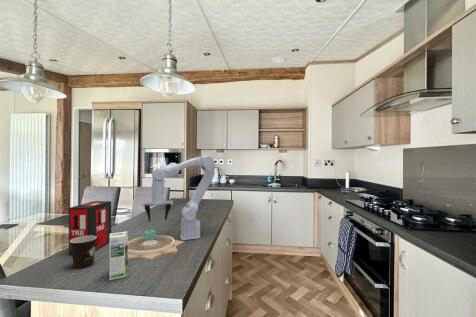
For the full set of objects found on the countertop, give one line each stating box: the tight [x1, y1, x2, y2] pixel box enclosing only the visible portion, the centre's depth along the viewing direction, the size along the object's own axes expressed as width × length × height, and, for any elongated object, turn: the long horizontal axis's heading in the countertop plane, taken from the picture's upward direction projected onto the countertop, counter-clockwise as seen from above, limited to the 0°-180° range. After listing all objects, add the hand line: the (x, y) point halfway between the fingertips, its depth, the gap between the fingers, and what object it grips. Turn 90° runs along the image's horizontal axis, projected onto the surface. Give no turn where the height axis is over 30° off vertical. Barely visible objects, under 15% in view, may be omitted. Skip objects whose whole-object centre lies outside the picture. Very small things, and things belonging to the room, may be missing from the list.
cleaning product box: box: [68, 200, 112, 256], centre depth 110 cm, size 16×9×20 cm, turn 178°
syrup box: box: [108, 230, 129, 281], centre depth 83 cm, size 6×6×14 cm
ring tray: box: [128, 234, 185, 261], centre depth 110 cm, size 30×30×2 cm
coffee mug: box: [70, 236, 99, 270], centre depth 93 cm, size 12×9×10 cm
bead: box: [144, 229, 156, 241], centre depth 116 cm, size 4×4×5 cm
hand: (157, 220), depth 119 cm, fingers open, 7 cm apart
